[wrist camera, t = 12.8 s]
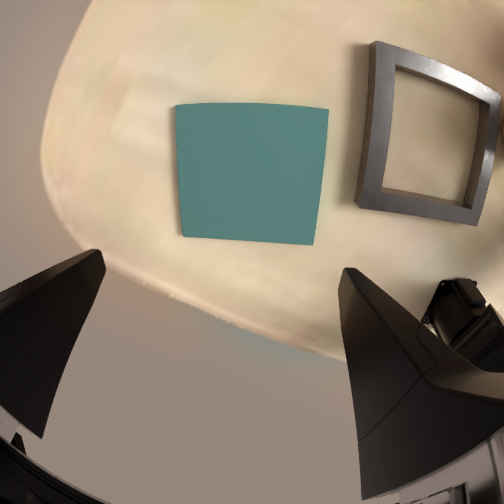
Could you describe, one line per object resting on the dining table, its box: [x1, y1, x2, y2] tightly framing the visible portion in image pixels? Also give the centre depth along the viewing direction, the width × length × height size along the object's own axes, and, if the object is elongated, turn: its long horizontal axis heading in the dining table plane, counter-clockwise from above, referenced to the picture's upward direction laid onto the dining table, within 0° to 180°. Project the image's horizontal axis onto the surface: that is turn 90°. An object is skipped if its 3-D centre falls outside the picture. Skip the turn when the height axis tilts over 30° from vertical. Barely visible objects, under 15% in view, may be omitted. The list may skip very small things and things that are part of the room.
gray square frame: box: [354, 41, 501, 226], centre depth 16 cm, size 13×13×2 cm
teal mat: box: [176, 103, 329, 245], centre depth 20 cm, size 11×11×1 cm
